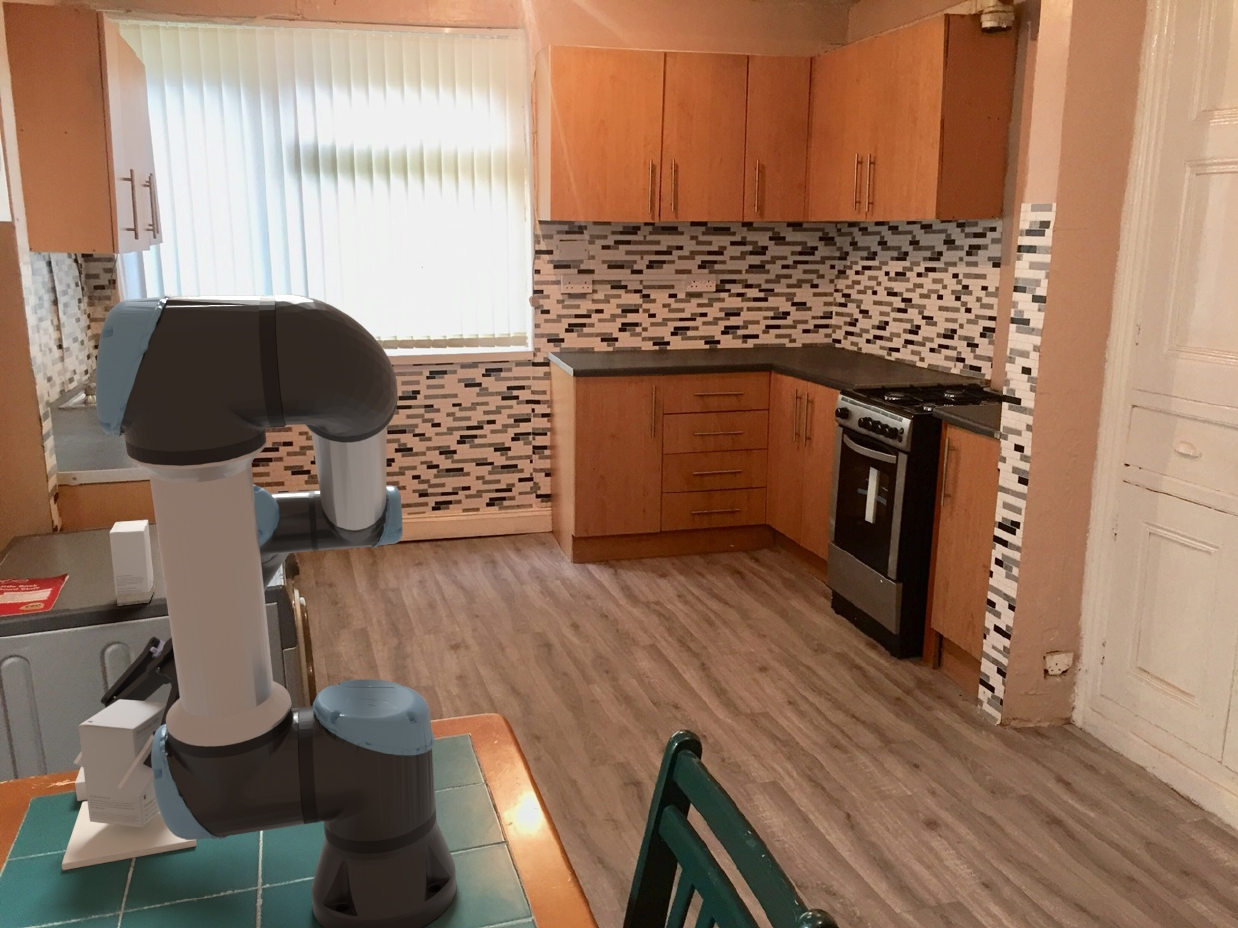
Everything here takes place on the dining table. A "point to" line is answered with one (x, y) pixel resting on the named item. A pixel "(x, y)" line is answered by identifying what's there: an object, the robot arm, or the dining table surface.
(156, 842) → the cream coaster
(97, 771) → the supplement box
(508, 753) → the dining table surface
